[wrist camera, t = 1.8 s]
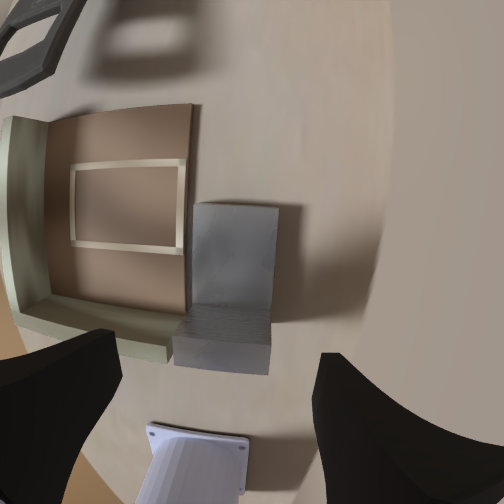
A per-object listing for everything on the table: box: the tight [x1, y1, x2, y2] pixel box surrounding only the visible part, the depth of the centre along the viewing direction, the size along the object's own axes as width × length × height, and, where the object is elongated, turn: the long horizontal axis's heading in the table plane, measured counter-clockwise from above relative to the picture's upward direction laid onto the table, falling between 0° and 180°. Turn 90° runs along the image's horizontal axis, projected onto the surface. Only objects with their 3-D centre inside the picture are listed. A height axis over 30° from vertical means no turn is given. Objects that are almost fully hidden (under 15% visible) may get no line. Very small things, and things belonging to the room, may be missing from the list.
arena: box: [0, 103, 194, 364], centre depth 13 cm, size 12×11×4 cm
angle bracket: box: [172, 203, 279, 375], centre depth 13 cm, size 6×4×5 cm, turn 177°
